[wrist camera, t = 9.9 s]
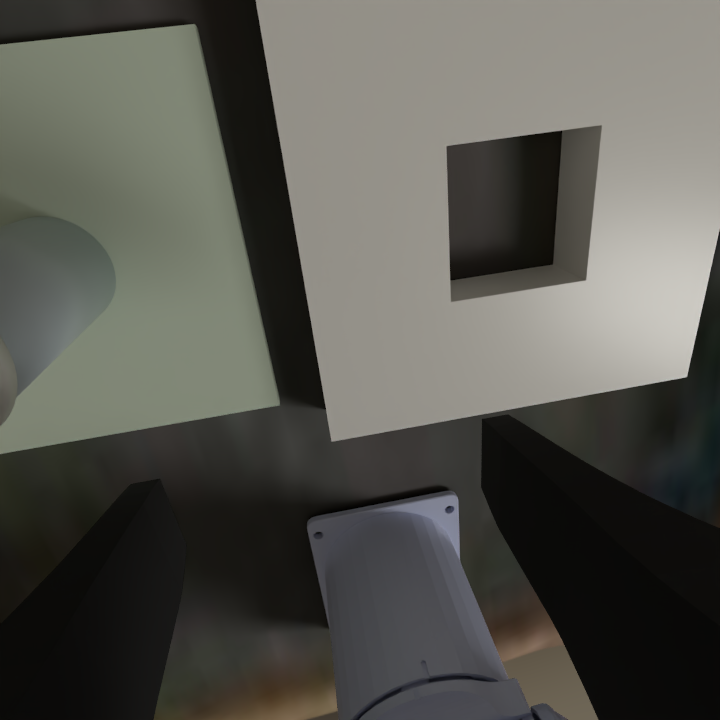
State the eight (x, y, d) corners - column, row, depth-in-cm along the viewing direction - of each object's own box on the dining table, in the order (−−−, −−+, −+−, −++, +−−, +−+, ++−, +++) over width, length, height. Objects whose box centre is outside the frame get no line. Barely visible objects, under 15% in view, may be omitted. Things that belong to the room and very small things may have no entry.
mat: (279, 399, 21) (279, 405, 21) (-47, 455, 20) (-55, 463, 20) (197, 27, 15) (194, 23, 15) (-281, 78, 14) (-299, 76, 14)
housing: (647, 353, 23) (686, 377, 21) (326, 410, 22) (331, 441, 20) (721, -65, 16) (792, -98, 14) (253, -18, 15) (247, -46, 13)
